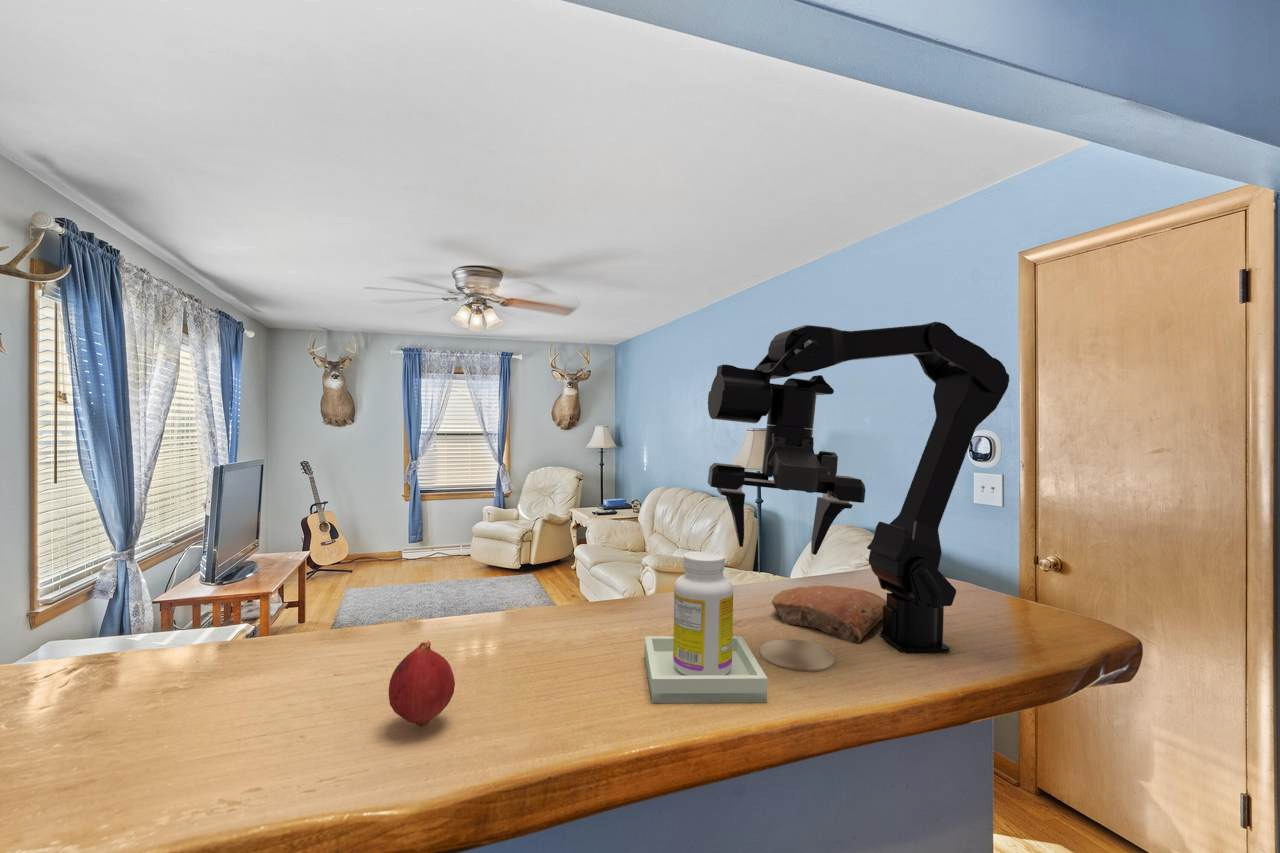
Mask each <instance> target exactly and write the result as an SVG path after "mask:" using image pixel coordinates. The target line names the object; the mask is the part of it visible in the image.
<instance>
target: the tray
mask: <svg viewBox="0 0 1280 853" xmlns="http://www.w3.org/2000/svg"><path fill="white" fill-rule="evenodd" d="M673 640H674V635H673V636H670V635H669V636H668V635H663V636H661V635H659V636H658V635H657V636H655V635H648V636H644V651H643V652H644V656H645V657H644V663H646V664H645V668H646V675H647V676H646V677H647V681H648V687H649V694H650V702H651V704H719V703H720V704H721V703H722V704H724V703H725V704H726V703H727V704H728V703H729V704H731V703H732V704H733V703H736V704H737V703H739V704H740V703H744V704H746V703H749V704H750V703H768V677H767V675H766V673H765V672H764V670H763V669H762V667H761V665H760V664H759V662H758V661H757V659H756V658H755V656H754V653H753V652H752V651H751V649H750V647H749V646H748V644H747V643H746V641H745V639H744V637H743V636H742V635H741V636H740V635H732V666H731V669H730V671H729V672H728V673H727V674H725V675H696V676H687V675H684V674H682V673H681V672H679V671H678V670H677V669H676V668H675V666H674V663H673Z"/></svg>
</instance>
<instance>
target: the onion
mask: <svg viewBox="0 0 1280 853" xmlns="http://www.w3.org/2000/svg"><path fill="white" fill-rule="evenodd" d="M455 685H456V682H455V676H454V672H453V669H452V667H451V664H450V663H449V662H448V660H447V659H446V658H445V657H444V656H442V655H441V654H440V653H438V652H437V651H435V650H433V649H431V642H430V640H423V641H421V642H420V643H419V644H418V645H417V647H416V648H415V649H413V650H412V651H411V652H409V653H408V654H407V655H406V656H404V658H403V659H402V660H401V661H400V662H399V663H398V665H397V666H396V667H395V669H394V670H393V672H392V675H391V677H390V678H389V684H388V699H389V700H388V701H389V706H390V708H392V711H393V712H394V714H396V715H397V716H399V718H402V719H403V720H405V721H406V722H409V723H412V724H414V725H416V726H418V727H425V726H427V725H429V724H430V722H431V721H432V720H434V719H435V718H436V717H437V716H439V715H440V714H441V713H442V712H443V711H444V709H446V708H447V706H448V705H449V704H450V702H451V700H452V698H453V695H454V693H455Z"/></svg>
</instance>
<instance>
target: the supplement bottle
mask: <svg viewBox="0 0 1280 853" xmlns="http://www.w3.org/2000/svg"><path fill="white" fill-rule="evenodd" d="M682 559H683V561H682V565H683V566H684V567H683V568H684V573H683V574H682V575H680V576H679V577H678V578H677V579H676V580H675V582H674V585H673V586H674V588H673V589H674V590H673V591H674V592H673V636H674V640H673V663H674V666H675V668H676V669H677V670H678V671H679V672H681V673H682V674H684V675H687V676H696V675H725V674H727V673H728V672H729V671H730V669H731V666H732V636H733V634H734V632H733V630H734V628H733V626H734V624H733V622H734V617H733V616H734V613H733V612H734V586H733V583H732V581H731V580H730V579H729V578H727V576H724V572H723V571H724V570H725V567H726V557H725V555H723V554H721V553H720V552H719V553H718V552H714V551H702V550H698V551H696V550H695V551H689V552H688V551H687V552H685V553H684V554H683V558H682Z"/></svg>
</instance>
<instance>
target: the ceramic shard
mask: <svg viewBox="0 0 1280 853" xmlns="http://www.w3.org/2000/svg"><path fill="white" fill-rule="evenodd" d="M886 601H887V599H885V598H884V597H881V596H880V595H878V594H875V593H874V592H870V591H867V590H864V589H858V588H853V587H844V586H836V585H835V586H834V585H827V584H826V585H825V584H823V585H810V586H806V587H805V586H804V587H803V586H800V587H798V586H797V587H793V588H792V587H791V588H788V589H784V590H781V591H780V592H778V593H776V594H775V595H774V596H773V598H772V600H771V604H772V606H773V608H774V610H775V613H777V614H778V615H779V617H780V619H781V620H782V621H781V622H782V623H784V624H786V625H792V626H793V625H794V626H800V627H808V628H815V629H818V630H820V631H822V632H824V633H825V634H827V635H832V636H835V637H838V638H840V639H843V640H844V641H845V640H846V641H847V642H850V643H853V644H859V643H860V642H861V641H862V640H863V638H864V637H865V636H866V635H867V634H868V633H869V632H870V631H871V629H873V628H874V627H875V626H876V625H878V623H879V622H880V621H883V606H884V605H886Z"/></svg>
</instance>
